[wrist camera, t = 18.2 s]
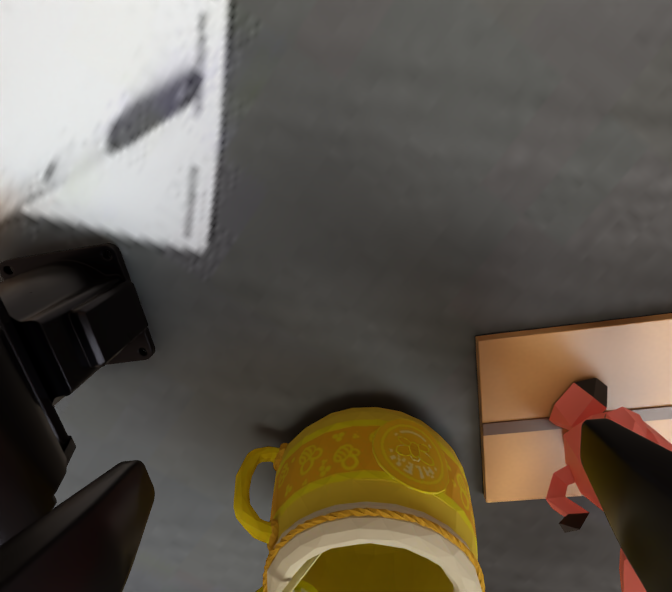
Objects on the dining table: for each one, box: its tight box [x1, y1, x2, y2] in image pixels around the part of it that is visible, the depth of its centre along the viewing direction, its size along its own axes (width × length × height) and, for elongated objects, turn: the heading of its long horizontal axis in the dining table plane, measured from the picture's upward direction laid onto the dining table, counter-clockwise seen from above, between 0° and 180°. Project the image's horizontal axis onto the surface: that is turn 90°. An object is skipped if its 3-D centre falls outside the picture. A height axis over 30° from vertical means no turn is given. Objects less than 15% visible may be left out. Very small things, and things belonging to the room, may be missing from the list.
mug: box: [234, 407, 485, 592], centre depth 19 cm, size 13×11×12 cm
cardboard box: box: [475, 313, 672, 503], centre depth 22 cm, size 11×11×1 cm
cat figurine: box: [546, 378, 672, 592], centre depth 16 cm, size 7×7×12 cm
